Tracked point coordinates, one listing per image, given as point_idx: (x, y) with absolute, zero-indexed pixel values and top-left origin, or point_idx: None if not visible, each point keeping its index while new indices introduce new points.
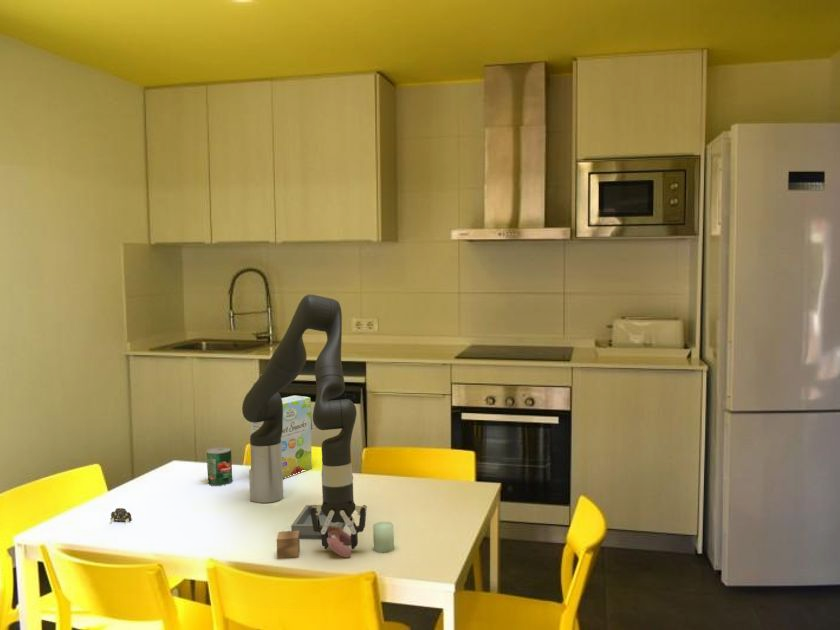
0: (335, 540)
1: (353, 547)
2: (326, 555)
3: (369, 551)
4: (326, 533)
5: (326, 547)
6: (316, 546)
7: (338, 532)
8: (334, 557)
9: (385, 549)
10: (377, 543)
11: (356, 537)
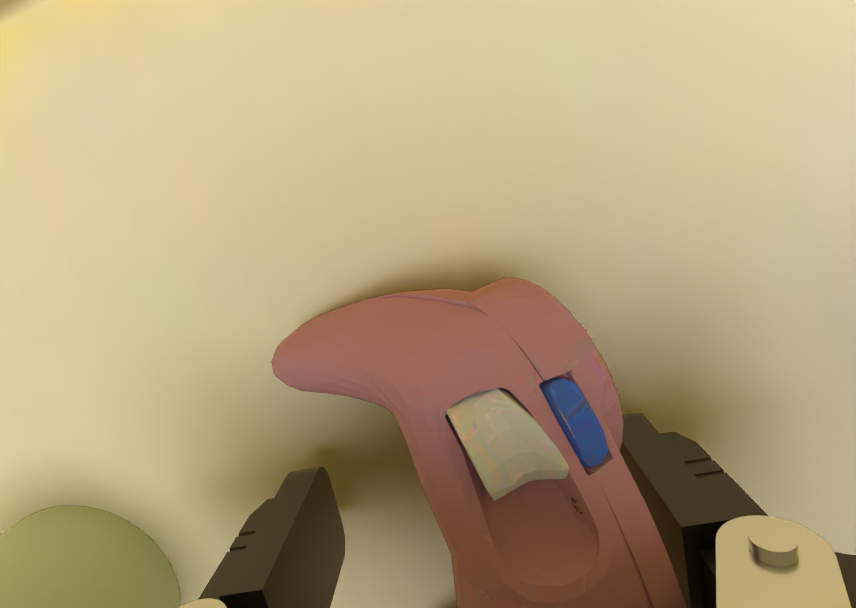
0: (433, 354)
1: (291, 475)
2: None
3: (187, 515)
4: (700, 575)
5: None
6: None
7: (471, 599)
8: None
9: (1, 537)
10: (31, 577)
11: (211, 583)
